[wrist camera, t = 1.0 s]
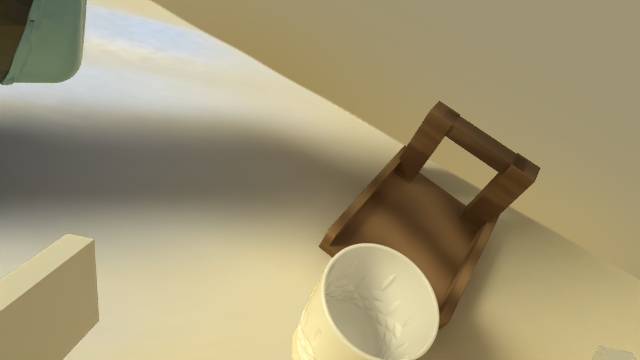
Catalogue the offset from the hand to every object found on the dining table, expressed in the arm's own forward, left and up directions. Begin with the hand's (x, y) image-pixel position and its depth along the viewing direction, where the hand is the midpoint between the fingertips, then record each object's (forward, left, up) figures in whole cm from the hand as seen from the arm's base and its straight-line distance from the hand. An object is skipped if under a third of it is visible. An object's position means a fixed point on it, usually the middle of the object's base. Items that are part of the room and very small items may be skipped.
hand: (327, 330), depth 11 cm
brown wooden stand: (-9, +24, -22) cm, 34 cm away
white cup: (-3, +10, -22) cm, 25 cm away
